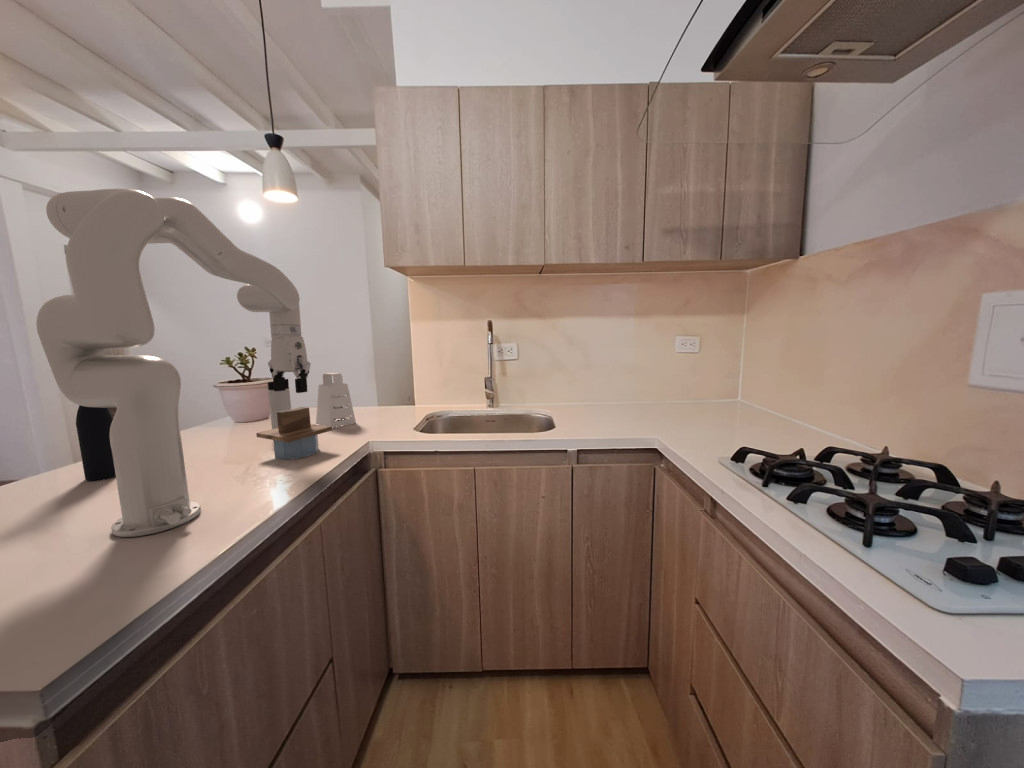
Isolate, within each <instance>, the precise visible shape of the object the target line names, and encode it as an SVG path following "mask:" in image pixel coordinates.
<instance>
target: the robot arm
mask: <svg viewBox="0 0 1024 768" xmlns="http://www.w3.org/2000/svg"><path fill="white" fill-rule="evenodd" d="M45 210H46V211H45V212H46V213H45V214H46V216H47V219H48V220H49V223H50V224H51V226H52V227H54V229H55V230H57V232H59V234H61V235H63V236H64V237H66V238H68V239H69V240H68V242H67V247H66V250H65V251H66V252H65V260H66V267H67V271H68V275H69V279H70V282H71V287H72V289H73V290H72V291H73V294H65V295H64V294H63V295H60V296H56V297H53V298H51V299H49V300H48V301H46V302H45V303H43V305H41V307H40V308H39V310H38V313H37V316H36V322H35V323H36V331H37V334H38V337H39V341H40V343H41V346H42V349H43V351H44V354H45V357H46V359H47V362H48V365H49V367H50V369H51V373H52V374H53V377H54V380H55V382H56V385H57V387H58V389H59V390H60V392H61V393H62V395H64V397H65V398H66V399H67V400H69V401H71V402H72V403H74V404H75V405H78V406H79V405H81V406H85V407H100V408H109V409H110V408H116V411H115V414H114V416H113V421H112V423H111V427H110V444H111V449H112V455H113V461H114V468H115V474H116V477H115V478H116V479H115V480H116V485H117V491H118V493H117V494H118V498H119V504H120V511H121V518H119V519H118V520H116V521H114V522H113V523H112V524H111V527H110V528H111V529H110V530H111V533H112V534H113V535H114V536H115V537H116V536H117V537H120V538H135V537H142V536H147V535H152V534H157V533H160V532H164V531H167V530H170V529H173V528H176V527H178V526H179V527H180V526H182V525H183V524H185V523H188V522H189V521H192V520H193V519H194V518H196V517H198V515H199V514H200V513H201V511H202V509H201V505H200V503H199V502H197V501H192V500H191V501H190V494H189V489H188V488H189V487H188V480H187V479H188V478H187V473H186V465H185V463H186V462H185V457H184V450H183V449H184V448H183V442H182V441H183V440H182V435H181V428H180V418H179V417H180V415H179V404H180V397H181V396H180V395H181V386H182V384H181V383H182V379H181V376H180V373H179V370H177V368H176V367H175V365H173V364H172V363H171V362H170V361H168V360H165V359H163V358H161V357H157V356H152V355H147V354H146V355H143V354H127V355H126V354H125V355H124V354H119V355H114V351H113V350H120V349H133V348H138V347H143V346H145V345H147V344H149V343H150V342H151V341H152V340H153V338H154V337H155V324H154V323H155V322H154V319H153V316H152V310H151V308H150V304H149V302H148V298H147V297H148V296H147V294H146V291H145V288H144V284H143V280H142V277H141V276H142V274H141V272H140V259H141V255H142V254H143V251H144V249H145V247H146V246H147V245H148V244H153V245H155V244H172V245H174V246H175V247H177V249H179V250H180V251H182V252H183V253H184V254H185V255H187V256H188V257H189V258H190V259H192V261H194V262H195V263H196V264H197V265H198V266H199V267H201V268H202V269H203V270H204V271H205V272H207V273H209V275H212V276H215V277H219V278H221V279H225V280H229V281H233V282H238V283H243V284H244V285H242V286H241V287H240V288H239V289H237V290H238V291H237V293H236V299H237V302H238V303H239V305H240V306H241V307H242V308H243V309H245V310H246V311H248V312H252V313H268V314H269V325H270V327H269V328H270V338H271V341H270V360H269V361H268V362H267V365H268V367H269V372H270V374H271V377H272V382H273V384H274V391H284V390H286V387H285V379H286V377H285V376H284V375H285V373H293V374H294V376H295V379H294V386H295V393H296V394H300V393H301V394H302V393H307V392H308V379H307V378H309V373H310V369H311V365H312V364H311V362H309V361H308V356H307V350H306V349H307V348H306V344H305V340H304V337H303V336H302V326H301V324H302V323H301V311H300V298H301V297H300V295H299V292H298V289H297V288H296V286H295V285H294V283H293V282H292V281H291V280H290V279H289V278H288V276H287V275H285V274H284V272H282V270H280V269H279V268H277V267H276V266H274V265H273V264H271V263H269V262H268V261H265V260H263V259H262V258H260V257H258V256H256V255H254V254H252V253H249V252H247V251H245V250H243V249H240V248H239V247H238V246H237V245H235V244H234V243H233V241H231V240H230V239H229V238H228V237H227V236H226V235H225V234H224V233H223V232H222V231H221V230H220V229H219V228H218V227H217V226H216V225H215V224H214V223H213V222H212V221H211V220H210V219H209V218H208V217H207V216H206V215H205V214H204V212H202V211H201V210H200V209H199V208H198V207H197V206H195V205H194V204H193V203H191V202H190V201H188V200H186V199H184V198H179V197H168V196H166V197H154V196H152V195H150V194H148V193H146V192H144V191H142V190H139V189H131V188H102V189H93V190H77V191H75V190H74V191H65V192H59V193H57V194H55V195H53V196H52V197H51V198H49V200H48V202H47V204H46V209H45Z"/></svg>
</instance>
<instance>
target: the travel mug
mask: <svg viewBox="0 0 1024 768" xmlns="http://www.w3.org/2000/svg"><path fill="white" fill-rule="evenodd" d="M285 387H286V390H284V391H274V384H273V381H268V382H267V391H268V402H269V403H268V404H269V412H270V421H271V424H270V425H271V429H276V428H278V420H277V412H279V411H284V410H289V409H292V403H291V394H290V386H289V378H285Z"/></svg>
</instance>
